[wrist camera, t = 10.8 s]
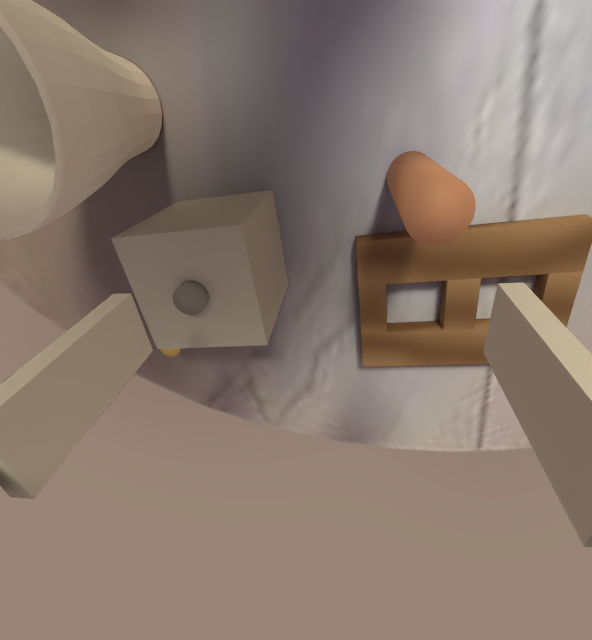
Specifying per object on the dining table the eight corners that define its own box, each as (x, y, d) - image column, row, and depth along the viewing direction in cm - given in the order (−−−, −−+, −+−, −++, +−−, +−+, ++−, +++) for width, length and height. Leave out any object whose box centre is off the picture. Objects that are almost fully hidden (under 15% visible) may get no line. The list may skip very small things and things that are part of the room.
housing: (177, 201, 28) (102, 243, 20) (273, 189, 27) (236, 229, 18) (204, 290, 32) (151, 356, 24) (288, 284, 31) (264, 352, 22)
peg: (386, 154, 24) (403, 181, 16) (434, 148, 24) (479, 172, 15) (386, 201, 26) (403, 248, 18) (431, 196, 25) (471, 242, 17)
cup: (72, 176, 28) (-117, 225, 17) (31, 5, 23) (-292, -94, 11) (197, 192, 28) (88, 254, 16) (187, 19, 22) (9, -71, 11)
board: (355, 235, 28) (355, 242, 26) (585, 214, 25) (598, 220, 23) (362, 356, 34) (362, 366, 32) (547, 351, 31) (555, 362, 29)
